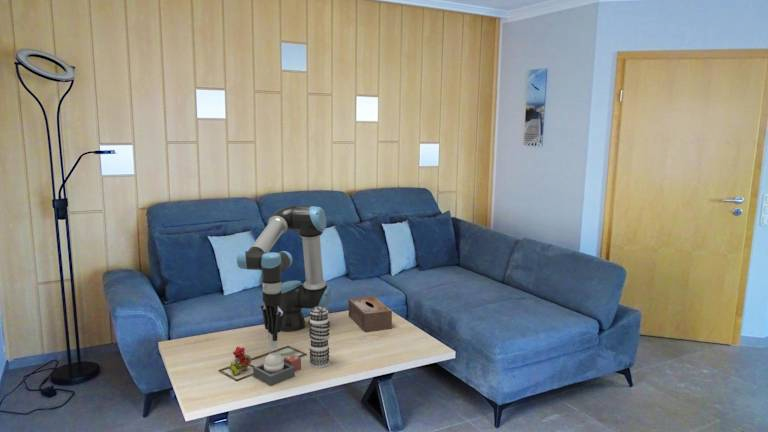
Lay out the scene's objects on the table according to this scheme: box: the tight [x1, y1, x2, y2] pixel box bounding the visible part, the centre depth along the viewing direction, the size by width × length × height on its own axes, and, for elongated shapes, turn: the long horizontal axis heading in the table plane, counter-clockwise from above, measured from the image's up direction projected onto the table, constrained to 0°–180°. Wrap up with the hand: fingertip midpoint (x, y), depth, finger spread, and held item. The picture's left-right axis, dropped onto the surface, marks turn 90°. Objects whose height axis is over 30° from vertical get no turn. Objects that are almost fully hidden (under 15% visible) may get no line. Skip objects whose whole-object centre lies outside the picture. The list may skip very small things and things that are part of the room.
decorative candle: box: [307, 306, 331, 369], centre depth 237 cm, size 9×9×25 cm
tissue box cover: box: [348, 295, 393, 333], centre depth 289 cm, size 26×14×10 cm, turn 22°
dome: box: [263, 353, 284, 375], centre depth 225 cm, size 8×8×8 cm
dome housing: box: [252, 355, 302, 387], centre depth 228 cm, size 12×18×6 cm, turn 137°
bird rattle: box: [228, 346, 252, 375], centre depth 230 cm, size 6×11×9 cm
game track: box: [218, 345, 308, 382], centre depth 239 cm, size 14×36×1 cm, turn 137°
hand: (273, 347), depth 224 cm, fingers closed
